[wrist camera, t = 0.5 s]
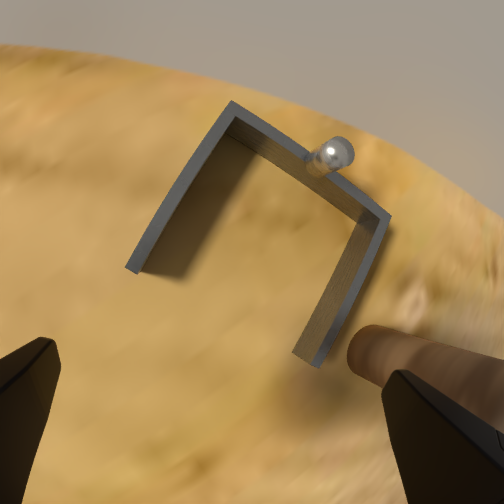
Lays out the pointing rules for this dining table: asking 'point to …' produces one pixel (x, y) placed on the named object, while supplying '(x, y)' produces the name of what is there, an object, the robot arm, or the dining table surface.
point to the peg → (432, 369)
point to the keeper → (317, 179)
